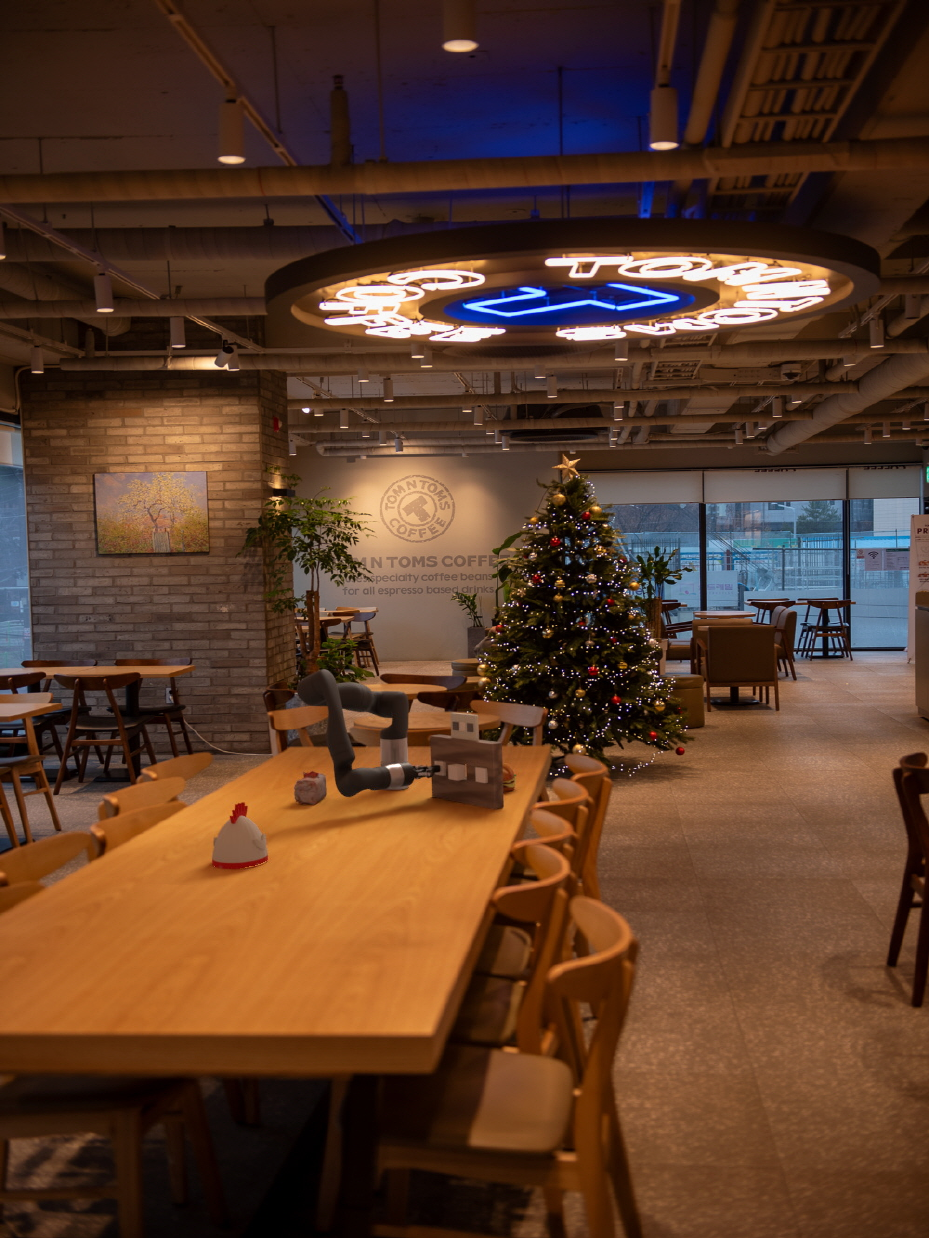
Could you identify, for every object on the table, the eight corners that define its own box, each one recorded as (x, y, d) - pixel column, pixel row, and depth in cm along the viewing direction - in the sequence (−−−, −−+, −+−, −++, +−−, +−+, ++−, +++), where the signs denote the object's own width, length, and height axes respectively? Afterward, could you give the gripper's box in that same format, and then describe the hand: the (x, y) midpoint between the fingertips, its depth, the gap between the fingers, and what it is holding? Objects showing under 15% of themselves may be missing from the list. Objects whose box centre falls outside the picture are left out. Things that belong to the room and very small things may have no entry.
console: (494, 809, 327) (492, 744, 327) (432, 796, 350) (430, 735, 350) (503, 807, 330) (501, 742, 330) (441, 794, 353) (439, 734, 352)
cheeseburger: (517, 785, 365) (516, 758, 362) (516, 799, 355) (515, 771, 352) (487, 785, 366) (486, 758, 363) (485, 798, 356) (484, 771, 353)
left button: (443, 775, 344) (443, 762, 344) (434, 774, 347) (434, 760, 347) (451, 774, 346) (451, 760, 346) (443, 772, 350) (442, 759, 349)
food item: (317, 806, 341) (316, 775, 341) (293, 806, 342) (292, 775, 342) (328, 797, 355) (327, 767, 354) (305, 797, 356) (304, 768, 355)
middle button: (457, 780, 335) (457, 766, 334) (448, 778, 338) (448, 765, 338) (465, 779, 337) (465, 765, 337) (456, 777, 340) (456, 763, 340)
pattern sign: (475, 741, 334) (474, 715, 334) (450, 737, 343) (449, 712, 343) (479, 740, 335) (478, 715, 335) (454, 737, 344) (453, 712, 344)
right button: (485, 783, 329) (484, 768, 329) (475, 781, 332) (475, 767, 332) (493, 781, 331) (493, 767, 331) (484, 779, 334) (483, 765, 334)
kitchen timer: (277, 856, 277) (275, 798, 276) (252, 870, 264) (250, 810, 263) (228, 854, 281) (226, 797, 280) (202, 868, 267) (199, 808, 267)
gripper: (408, 765, 329) (451, 758, 340) (383, 761, 339) (425, 754, 350) (409, 789, 329) (452, 782, 341) (383, 784, 339) (426, 777, 351)
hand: (438, 768), depth 346 cm, fingers closed
